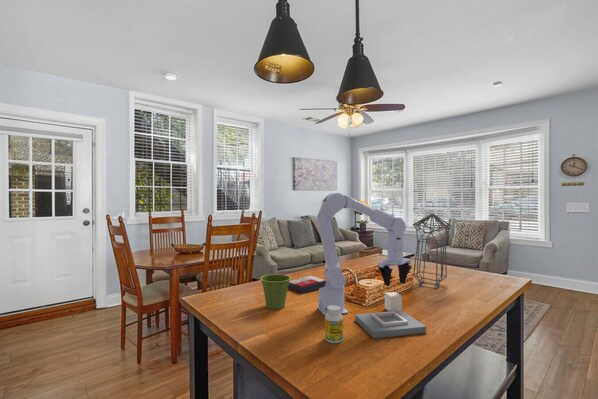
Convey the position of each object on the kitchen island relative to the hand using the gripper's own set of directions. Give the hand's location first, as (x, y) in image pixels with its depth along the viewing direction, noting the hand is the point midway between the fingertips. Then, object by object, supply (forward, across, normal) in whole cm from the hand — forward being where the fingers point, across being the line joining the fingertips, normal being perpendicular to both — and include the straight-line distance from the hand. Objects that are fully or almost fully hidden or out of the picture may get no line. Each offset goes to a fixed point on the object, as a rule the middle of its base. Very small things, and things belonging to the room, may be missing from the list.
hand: (394, 284), depth 117 cm
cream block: (+10, -1, -1) cm, 10 cm away
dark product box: (+10, -18, +38) cm, 44 cm away
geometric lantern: (+9, +38, +16) cm, 43 cm away
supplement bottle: (+10, -34, -12) cm, 38 cm away
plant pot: (+10, -40, +22) cm, 47 cm away
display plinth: (+9, -13, -11) cm, 20 cm away
